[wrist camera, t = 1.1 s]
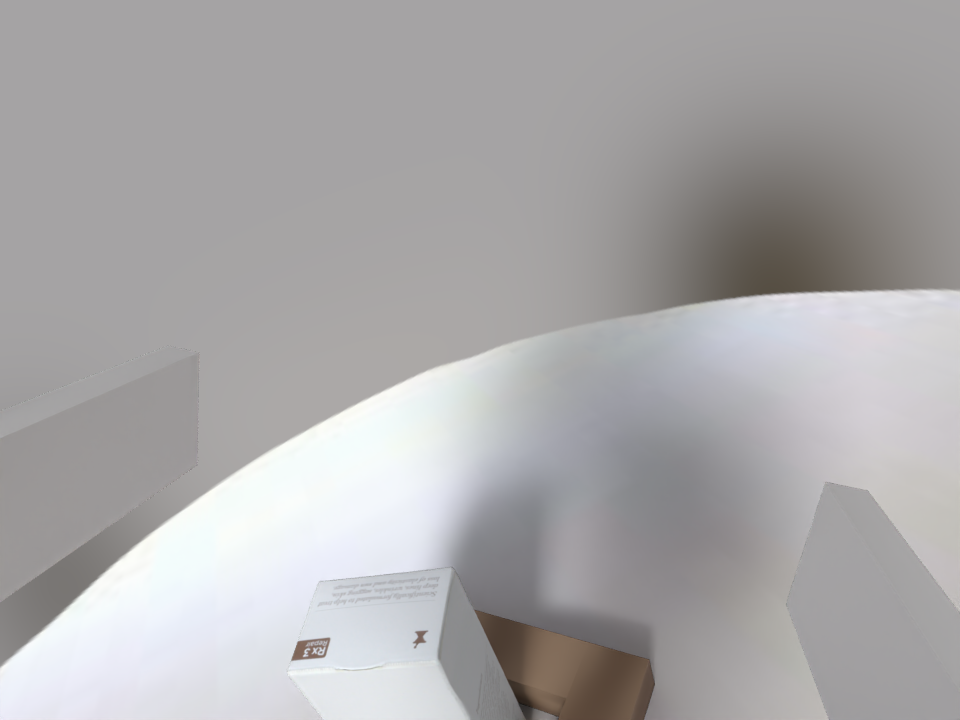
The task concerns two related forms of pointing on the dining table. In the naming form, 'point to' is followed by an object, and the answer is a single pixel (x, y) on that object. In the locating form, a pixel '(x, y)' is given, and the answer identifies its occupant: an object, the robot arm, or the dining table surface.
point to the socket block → (569, 673)
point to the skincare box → (399, 652)
